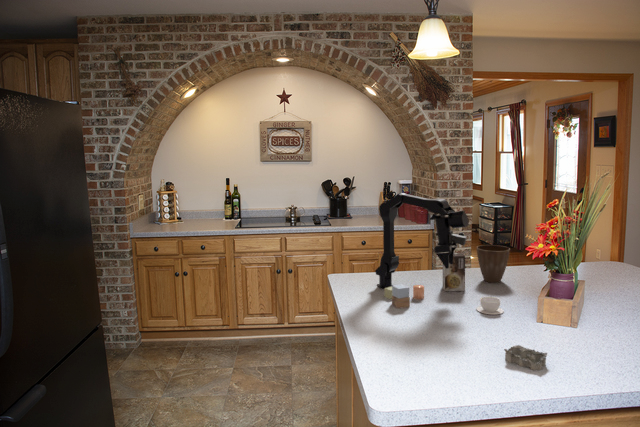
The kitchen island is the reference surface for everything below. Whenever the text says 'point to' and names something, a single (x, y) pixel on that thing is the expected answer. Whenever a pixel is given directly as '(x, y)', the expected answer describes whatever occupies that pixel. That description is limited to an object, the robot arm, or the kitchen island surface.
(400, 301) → the tower base
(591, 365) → the kitchen island surface
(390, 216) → the robot arm
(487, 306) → the teacup
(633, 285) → the kitchen island surface
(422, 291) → the terracotta cylinder
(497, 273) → the plant pot
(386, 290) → the olive block
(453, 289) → the coffee box
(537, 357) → the egg carton
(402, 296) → the tower mid
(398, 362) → the kitchen island surface
